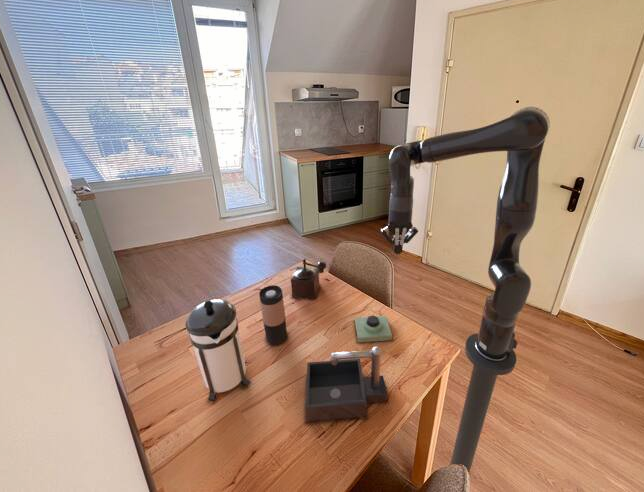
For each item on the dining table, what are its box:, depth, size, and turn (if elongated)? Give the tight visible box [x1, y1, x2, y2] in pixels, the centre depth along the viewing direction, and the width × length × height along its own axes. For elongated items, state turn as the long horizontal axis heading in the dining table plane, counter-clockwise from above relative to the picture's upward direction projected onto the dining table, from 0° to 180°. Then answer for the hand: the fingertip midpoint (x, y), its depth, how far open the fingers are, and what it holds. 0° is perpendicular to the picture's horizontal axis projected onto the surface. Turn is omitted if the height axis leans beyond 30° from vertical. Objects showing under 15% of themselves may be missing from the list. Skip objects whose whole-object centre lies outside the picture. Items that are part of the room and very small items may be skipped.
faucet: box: [330, 346, 382, 388], centre depth 81 cm, size 14×3×14 cm, turn 94°
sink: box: [305, 358, 388, 423], centre depth 84 cm, size 22×14×6 cm, turn 94°
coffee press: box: [184, 298, 250, 402], centre depth 85 cm, size 17×16×30 cm
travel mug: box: [258, 285, 288, 346], centre depth 102 cm, size 8×8×20 cm
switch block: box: [354, 315, 393, 343], centre depth 107 cm, size 12×10×4 cm
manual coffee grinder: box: [290, 258, 327, 300], centre depth 126 cm, size 16×11×18 cm
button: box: [367, 315, 379, 327], centre depth 106 cm, size 4×4×2 cm
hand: (397, 253), depth 102 cm, fingers closed
